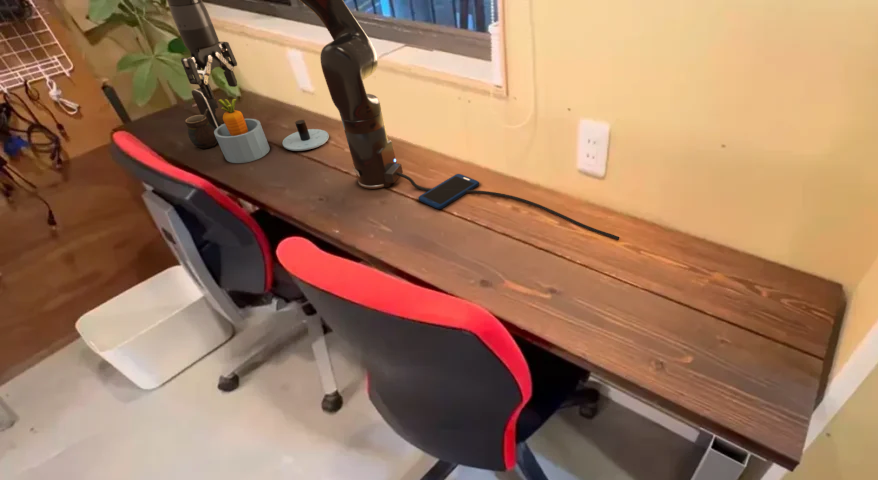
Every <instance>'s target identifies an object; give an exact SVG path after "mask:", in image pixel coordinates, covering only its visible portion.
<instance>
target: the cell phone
mask: <svg viewBox="0 0 878 480" xmlns="http://www.w3.org/2000/svg"><path fill="white" fill-rule="evenodd" d="M479 185H480V182H479V181H478V180H476V179H474V178H471V177H469V176H467V175H464V174H461V173H456V174H454V175H453V176H451V177H449V178H447V179H445V180H444V181H442V182H440V183H439V184H437V185H436V186H434V187H433V188H430V189H431V190H429V191H425V192H424V193H422V194H421V195H419V196H418V201H419V202H422V203H424V204H425V205H428V206H430V207H432V208H434V209H436V210H443V209H444V208H445V207H447V206H449V205H450V204H451V203H453V202H455V201H456V200H458V199H459V198H461V197H463V196H464V195H465V194H467V193H466V190H475V188H477V187H478V186H479ZM446 189H449V190H446Z"/></svg>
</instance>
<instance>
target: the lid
mask: <svg viewBox="0 0 878 480" xmlns="http://www.w3.org/2000/svg"><path fill="white" fill-rule="evenodd" d="M294 123H295V126H296V129H297V131H296V132H293V133H291V134H289V135H288V136H286V137H284V139H283V140H282V146H283V148H284V149H286V150H289V151H293V152H302V151H309V150H311V149H316V148H318V147H321V146H322V145H324V144H326V142H328V140H329V138H330V136H329V133H328V131H326V130H324V129H320V128H309V129H308V126H307V123H306V121H305V119H298V120H296V121H295V122H294Z"/></svg>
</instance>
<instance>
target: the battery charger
mask: <svg viewBox="0 0 878 480" xmlns="http://www.w3.org/2000/svg"><path fill="white" fill-rule="evenodd" d="M191 95H192V98H193V100H194V102H195V105H196V106H197V108H198V109H197V110H198V111H199V113H200V115H204V114H205V111H206V109H207V108H208V111H207V113H206V117H207V119H208V122H209V123H210V124H211V125H212V126H213V127H214V128H215V130H216V128H217V127H219V126H221V125H222V124H223V123H221V122H220V121H219V119H218V117H217V115H216V112H217V110H216V109H218V108H219V104H218V101H217V100H216V97H215V98H214V99H206V98H205V97H204V95H203V93H202V91H201V89H200V87H199V88H194V89H193V90H191Z"/></svg>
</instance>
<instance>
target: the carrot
mask: <svg viewBox="0 0 878 480" xmlns="http://www.w3.org/2000/svg"><path fill="white" fill-rule="evenodd" d="M236 102H237V99H235V98H232V100H231V102H230V101H229V100H228V99H225V98H224V100H223V99H221V98H220V99H218V101H217V103H219V104H220V105H221V106H222V107H221V108H220V110H223V111H225V112H224V113H223V115H222V121H223V122H224V123H225V125H226V127H227V129H228V131H229V133H230V134H231V136H237V135H241V134H245V133H247V132H248V129H247V125H246V122H245V120H244V119H245V117H244V115H243V112H241V111H240V110H237V109H235V108H236ZM224 123H223V124H224Z"/></svg>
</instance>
